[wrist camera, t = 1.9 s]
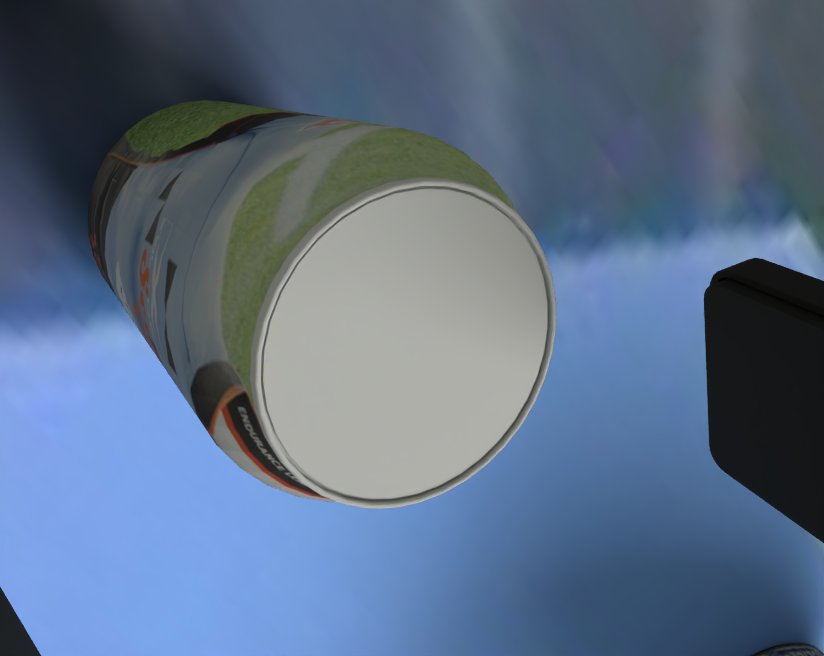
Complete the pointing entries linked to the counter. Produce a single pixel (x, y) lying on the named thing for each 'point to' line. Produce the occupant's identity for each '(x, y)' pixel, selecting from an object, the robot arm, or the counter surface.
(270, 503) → the counter surface
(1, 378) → the counter surface
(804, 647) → the decorative vase
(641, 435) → the counter surface
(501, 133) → the counter surface
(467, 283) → the beverage can
